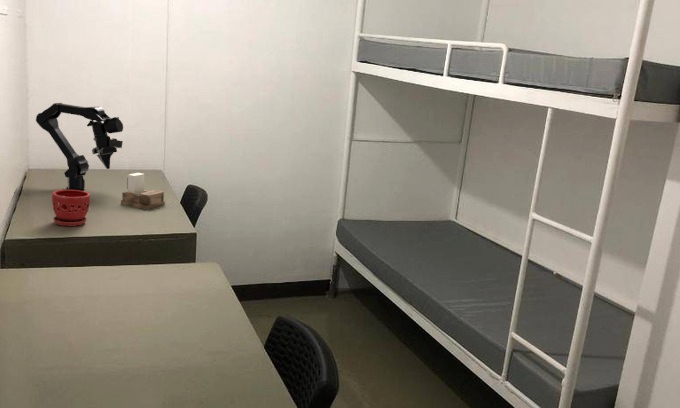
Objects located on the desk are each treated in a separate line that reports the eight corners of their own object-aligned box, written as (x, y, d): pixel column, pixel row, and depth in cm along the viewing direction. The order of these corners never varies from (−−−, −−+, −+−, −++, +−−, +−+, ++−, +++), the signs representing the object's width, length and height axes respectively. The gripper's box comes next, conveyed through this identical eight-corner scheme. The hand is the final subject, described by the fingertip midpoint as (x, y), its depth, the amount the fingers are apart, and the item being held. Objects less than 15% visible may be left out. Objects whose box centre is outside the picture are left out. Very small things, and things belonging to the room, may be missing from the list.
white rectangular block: (125, 198, 274) (126, 174, 271) (135, 196, 279) (136, 172, 277) (134, 200, 272) (134, 175, 269) (143, 198, 278) (144, 173, 275)
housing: (120, 203, 272) (121, 190, 270) (139, 199, 282) (139, 186, 281) (146, 209, 267) (147, 195, 265) (164, 204, 277) (165, 191, 276)
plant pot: (73, 230, 230) (73, 198, 227) (44, 223, 234) (44, 192, 231) (97, 222, 242) (97, 192, 239) (69, 216, 246) (69, 187, 243)
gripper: (124, 131, 277) (132, 165, 280) (112, 132, 292) (119, 165, 295) (99, 135, 271) (107, 170, 274) (88, 136, 286) (95, 169, 289)
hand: (108, 168), depth 283 cm, fingers closed
